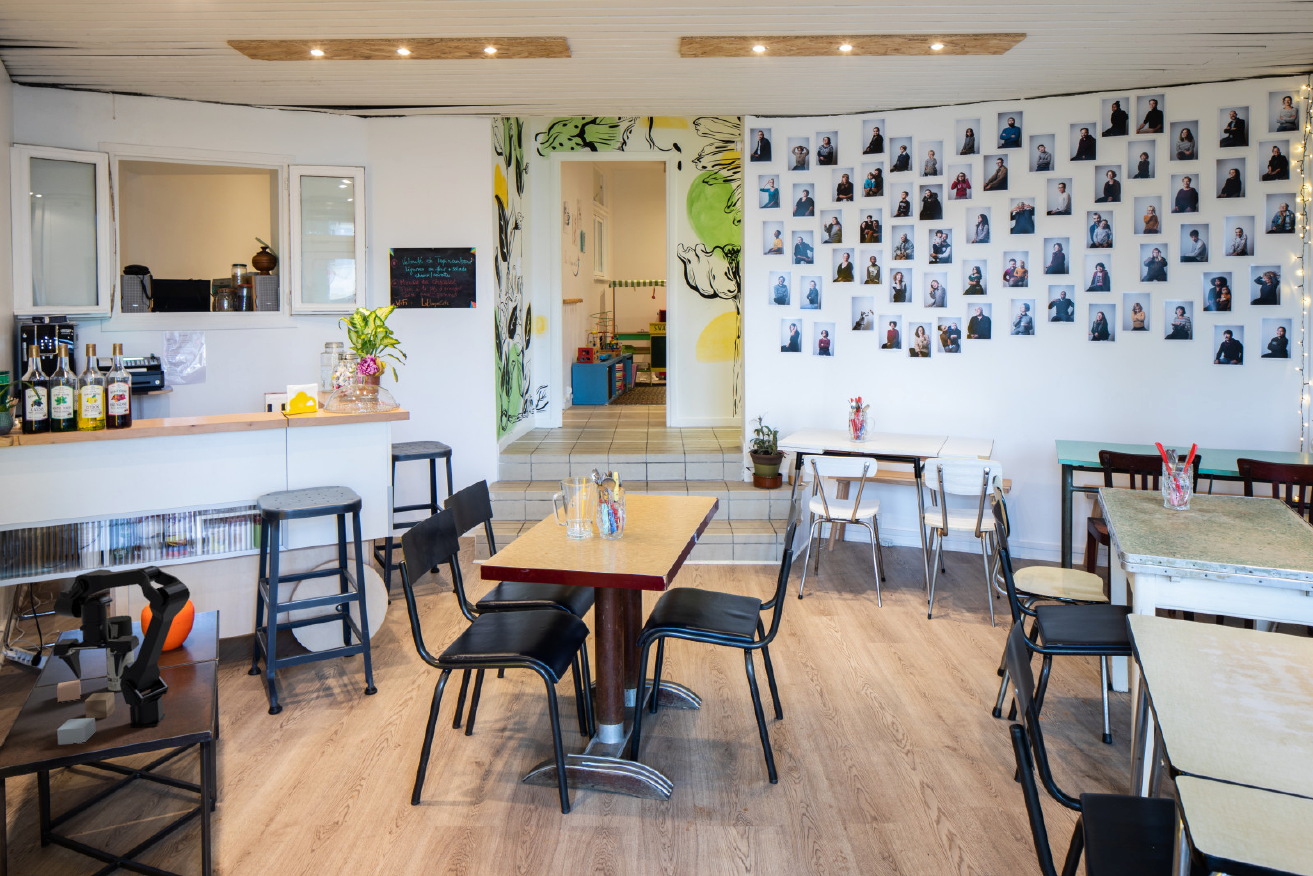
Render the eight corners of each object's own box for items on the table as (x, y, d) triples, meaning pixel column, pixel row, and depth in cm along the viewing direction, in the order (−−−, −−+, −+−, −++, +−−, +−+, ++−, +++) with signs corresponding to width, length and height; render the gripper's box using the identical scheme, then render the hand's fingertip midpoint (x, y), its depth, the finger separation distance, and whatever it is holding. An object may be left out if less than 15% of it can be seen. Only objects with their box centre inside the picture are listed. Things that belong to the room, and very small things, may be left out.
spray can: (110, 684, 258) (106, 616, 256) (137, 681, 260) (133, 613, 258) (105, 693, 252) (101, 623, 249) (133, 690, 254) (129, 620, 252)
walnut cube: (115, 710, 241) (113, 692, 240) (107, 718, 236) (105, 699, 235) (94, 711, 240) (93, 693, 239) (86, 719, 235) (84, 701, 234)
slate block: (95, 733, 227) (94, 717, 227) (85, 743, 221) (84, 728, 221) (69, 734, 226) (68, 719, 226) (58, 745, 220) (57, 729, 220)
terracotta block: (80, 693, 252) (80, 679, 251) (79, 700, 247) (78, 686, 247) (59, 697, 249) (58, 683, 249) (57, 703, 245) (56, 689, 244)
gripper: (145, 608, 244) (148, 664, 246) (69, 611, 241) (73, 668, 243) (128, 621, 233) (132, 679, 235) (49, 624, 230) (53, 684, 232)
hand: (98, 677), depth 237 cm, fingers open, 9 cm apart
